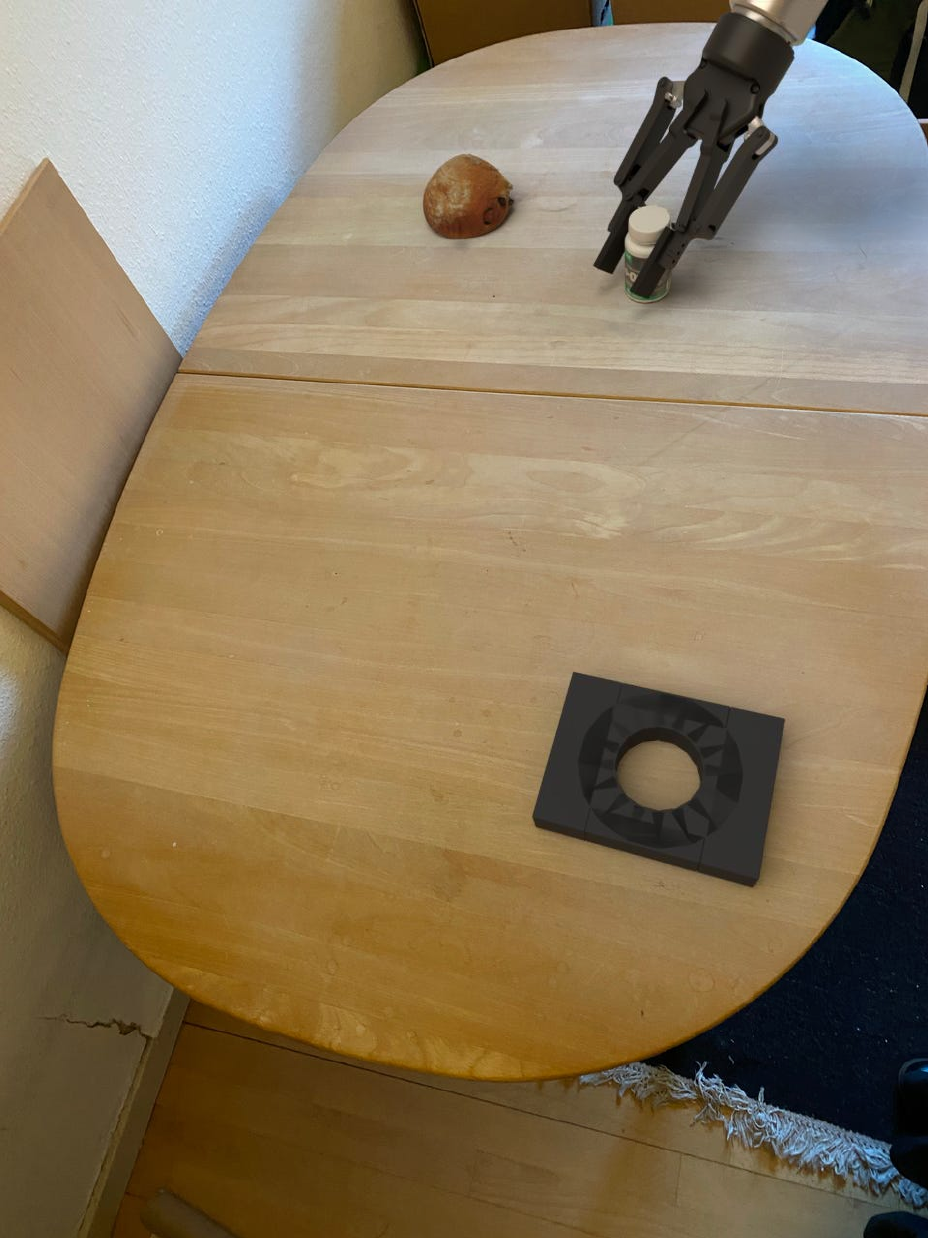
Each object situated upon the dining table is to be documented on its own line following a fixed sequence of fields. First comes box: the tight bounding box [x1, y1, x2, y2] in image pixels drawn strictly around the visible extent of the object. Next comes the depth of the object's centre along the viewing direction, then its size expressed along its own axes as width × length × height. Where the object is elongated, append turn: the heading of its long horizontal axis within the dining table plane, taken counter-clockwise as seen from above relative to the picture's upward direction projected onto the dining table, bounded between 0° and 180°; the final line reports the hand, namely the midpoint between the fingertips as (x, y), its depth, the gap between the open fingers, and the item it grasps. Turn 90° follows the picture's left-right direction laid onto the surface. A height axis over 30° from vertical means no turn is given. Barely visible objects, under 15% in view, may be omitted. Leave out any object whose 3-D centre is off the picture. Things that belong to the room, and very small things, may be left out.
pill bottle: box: [624, 204, 672, 304], centre depth 84 cm, size 5×5×8 cm
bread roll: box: [422, 153, 515, 240], centre depth 97 cm, size 10×10×8 cm
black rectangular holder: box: [531, 671, 786, 888], centre depth 62 cm, size 16×12×3 cm
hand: (620, 281), depth 85 cm, fingers closed on pill bottle, 5 cm apart
